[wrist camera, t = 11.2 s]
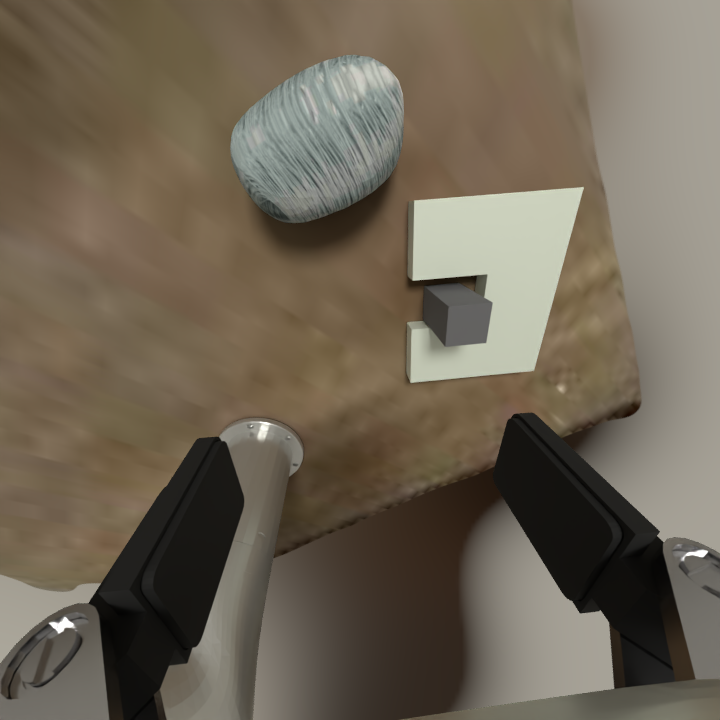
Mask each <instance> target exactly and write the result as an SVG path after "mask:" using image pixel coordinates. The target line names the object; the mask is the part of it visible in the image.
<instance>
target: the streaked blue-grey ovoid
mask: <svg viewBox="0 0 720 720" xmlns="http://www.w3.org/2000/svg"><path fill="white" fill-rule="evenodd" d="M403 119H404V104H403V93H402V90H401V87H400V84H399V81H398V79H397V78H396V77H395V75H394V74H393V73H392V72H391V71H390V70H389V69H388V68H387V67H386V66H385V65H384V64H382V63H380V62H378V61H377V60H375V59H373V58H371V57H366V56H358V55H345V56H341V57H338V58H334V59H329V60H326V61H323V62H321V63H318V64H316V65H314V66H312V67H309V68H307V69H305V70H303V71H301V72H299V73H298V74H296V75H294V76H293V77H291V78H289V79H288V80H286V81H284V82H283V83H281V84H280V85H279V86H277V87H276V88H274V89H273V90H272V91H270V92H269V93H268V94H267V95H265V96H264V97H263V98H262V99H260V100H259V101H258V102H257V103H256V104H255V105H253V106H252V107H251V108H250V109H249V110H248V111H247V112H246V113H245V114H244V115H243V116H242V118H241V119H240V120H239V122H238V123H237V124H236V126H235V128H234V130H233V133H232V136H231V147H230V148H231V158H232V163H233V166H234V169H235V171H236V173H237V176H238V178H239V180H240V182H241V184H242V185H243V187H244V189H245V190H246V191H247V193H248V194H249V196H250V197H251V198H252V200H253V201H254V202H255V203H256V204H257V206H259V207H260V208H261V209H262V210H263V211H264V212H266V213H267V214H268V215H270V216H272V217H273V218H275V219H277V220H280V221H283V222H287V223H302V222H308V221H311V220H314V219H318V218H322V217H324V216H327V215H329V214H332V213H334V212H337V211H339V210H342V209H345V208H347V207H349V206H350V205H352V204H354V203H356V202H358V201H360V200H361V199H363V198H364V197H366V196H367V195H369V194H371V193H372V192H373V191H375V190H376V189H377V188H378V187H379V186H380V185H382V184H383V183H384V182H385V181H386V180H387V179H388V178H389V176H390V175H391V173H392V171H393V170H394V168H395V167H396V165H397V162H398V159H399V156H400V152H401V147H402V142H403V128H404V127H403Z"/></svg>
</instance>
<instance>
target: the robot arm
mask: <svg viewBox="0 0 720 720" xmlns="http://www.w3.org/2000/svg"><path fill="white" fill-rule="evenodd" d="M303 455H304V448H303V443H302V441H301V439H300V437H299V436H298V435H297V434H296V432H294V431H293V430H292V429H291V428H290V427H288V426H286V425H285V424H283V423H280V422H278V421H275V420H271V419H267V418H246V419H242V420H239V421H236V422H234V423H232V424H230V425H229V426H227V427H226V428H225V429H224V430H223V431H222V433H221V434H220V436H219V437H208V438H199V439H197V440H196V441H195V443H194V444H193V446H192V448H191V449H190V451H189V452H188V454H187V455H186V457H185V458H184V460H183V462H182V463H181V465H180V466H179V468H178V469H177V471H176V472H175V474H174V476H173V477H172V479H171V480H170V482H169V483H168V485H167V486H166V487H165V488H164V489H163V490H162V491H161V493H160V494H159V495H158V497H157V498H156V500H155V502H154V503H153V505H152V506H151V508H150V509H149V511H148V512H147V514H146V515H145V517H144V518H143V520H142V522H141V523H140V525H139V526H138V528H137V529H136V531H135V532H134V534H133V535H132V537H131V538H130V540H129V542H128V543H127V545H126V546H125V548H124V549H123V551H122V552H121V554H120V555H119V557H118V558H117V560H116V562H115V563H114V565H113V566H112V568H111V569H110V571H109V572H108V574H107V575H106V577H105V578H104V580H103V582H102V583H101V585H100V586H99V588H98V589H97V591H96V593H95V594H94V595H93V597H92V598H91V600H90V602H89V603H78V604H74V605H71V606H68V607H65V608H63V609H61V610H59V611H57V612H56V613H54V614H52V615H50V616H48V617H47V618H46V619H45V620H43V621H42V622H40V623H39V624H38V625H36V626H35V627H34V628H33V629H31V630H30V631H29V632H28V633H27V634H26V635H25V636H24V637H23V638H22V639H21V640H20V641H19V642H18V643H17V644H16V645H15V646H14V647H13V649H12V650H11V651H10V652H9V653H8V655H7V656H6V657H5V658H4V659H3V661H2V662H1V663H0V720H253V711H254V695H255V681H256V667H257V656H258V647H259V639H260V632H261V625H262V617H263V611H264V606H265V600H266V594H267V589H268V583H269V578H270V572H271V567H272V562H273V557H274V551H275V546H276V541H277V536H278V531H279V525H280V520H281V515H282V510H283V505H284V499H285V494H286V489H287V484H288V479H289V476H291V475H292V474H293V473H295V472H296V471H297V470H298V468H299V467H300V465H301V463H302V461H303ZM493 480H494V483H495V485H496V486H497V488H498V490H499V491H500V493H501V495H502V496H503V498H504V500H505V501H506V503H507V504H508V506H509V508H510V509H511V511H512V513H513V514H514V516H515V517H516V519H517V520H518V522H519V524H520V525H521V527H522V529H523V530H524V532H525V534H526V535H527V537H528V538H529V540H530V542H531V543H532V545H533V546H534V548H535V550H536V551H537V553H538V555H539V556H540V558H541V559H542V561H543V563H544V564H545V566H546V567H547V569H548V571H549V572H550V574H551V576H552V577H553V579H554V580H555V582H556V584H557V585H558V587H559V588H560V590H561V592H562V593H563V594H564V596H565V597H566V598H567V599H569V600H571V601H573V603H574V604H575V606H576V608H577V609H578V611H579V613H588V612H596V611H600V610H601V611H602V613H603V614H604V616H605V617H606V618H607V620H608V621H609V627H610V640H611V652H612V665H613V678H614V689H611V690H604V691H597V692H590V693H582V694H575V695H568V696H561V697H554V698H547V699H540V700H533V701H526V702H518V703H512V704H504V705H498V706H491V707H484V708H477V709H470V710H464V711H456V712H450V713H443V714H436V715H429V716H423V717H416V718H409V719H402V720H720V553H718V552H717V551H715V550H713V549H711V548H709V547H707V546H705V545H703V544H700V543H699V542H695V541H692V540H689V539H686V538H676V537H674V538H669V539H667V540H666V541H665V542H663V541H661V539H659V538H658V537H657V535H658V534H659V532H660V531H659V530H658V529H656V527H655V526H653V525H652V524H651V523H650V522H649V521H648V520H647V519H646V518H645V517H644V516H643V515H642V514H641V513H640V512H639V511H638V510H637V509H635V508H634V507H633V506H632V505H631V504H630V503H629V502H628V501H627V500H626V499H625V498H624V497H623V496H622V495H621V494H620V493H618V492H617V491H616V490H615V489H614V488H613V487H612V486H611V485H610V484H609V483H608V482H607V481H606V480H605V479H604V478H603V477H602V476H600V475H599V474H598V473H597V472H596V471H595V470H594V469H593V468H592V467H591V466H590V465H589V464H588V463H587V462H586V461H584V459H582V458H581V457H580V456H579V455H578V454H577V453H576V452H575V451H574V450H573V449H572V448H571V447H570V446H569V445H567V443H565V442H564V441H563V440H562V439H561V438H560V437H559V436H558V435H557V434H556V433H555V432H554V431H553V430H552V429H551V428H550V427H548V426H547V425H546V424H545V423H544V422H543V421H542V420H541V419H540V418H539V417H538V416H537V415H535V414H534V413H520V414H514V415H513V416H512V417H511V419H509V420H508V421H507V424H506V428H505V432H504V435H503V439H502V443H501V446H500V450H499V454H498V457H497V461H496V465H495V468H494V472H493Z"/></svg>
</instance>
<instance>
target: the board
mask: <svg viewBox="0 0 720 720" xmlns="http://www.w3.org/2000/svg"><path fill="white" fill-rule="evenodd" d="M583 188H584V187H581V188H568V189H555V190H543V191H530V192H518V193H505V194H493V195H480V196H467V197H455V198H442V199H430V200H417V201H410V202H408V277H409V278H410V279H411V280H412V281H415V280H427V279H438V278H450V277H461V276H473V275H477V278H476V286H475V293H477V294H479V295H481V296H482V297H484V298H486V299H488V300H489V301H491V302H493V305H492V311H491V317H490V323H489V329H488V335H487V342H486V343H481V344H471V345H461V346H450V347H445V346H444V345H443V343H442V342H441V341H440V340H439V338H438V337H437V336H436V335H435V333H434V332H433V331H432V330H431V328H430V327H429V326H428V325H427V323H426V322H425V321H416V322H407V362H406V373H407V376H408V378H409V380H410V383H413V382H423V381H434V380H444V379H454V378H465V377H475V376H485V375H496V374H506V373H516V372H527V371H534V368H535V365H536V361H537V357H538V354H539V350H540V346H541V343H542V339H543V335H544V332H545V328H546V324H547V320H548V317H549V313H550V309H551V306H552V302H553V298H554V295H555V291H556V287H557V284H558V280H559V276H560V273H561V269H562V265H563V262H564V258H565V254H566V251H567V247H568V243H569V240H570V236H571V232H572V228H573V225H574V221H575V217H576V214H577V210H578V206H579V203H580V199H581V195H582V192H583Z"/></svg>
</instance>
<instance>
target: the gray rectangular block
mask: <svg viewBox="0 0 720 720" xmlns="http://www.w3.org/2000/svg"><path fill="white" fill-rule="evenodd" d="M492 305H493V302H491V301H489V300H488V299H486V298H484V297H482V296H481V295H479V294H477V293H475V292H474V291H472V290H470V289H468V288H467V287H465V286H463V285H461V284H460V283H450V284H439V285H428V286H424V300H423V320H424V321H425V322H426V323H427V325H428V326H429V327H430V328H431V330H432V331H433V332H434V333H435V335H436V336H437V337H438V338H439V340H440V341H441V342H442V343H443V345H444V346H445V347H450V346H461V345H471V344H481V343H486V342H487V335H488V329H489V323H490V317H491V311H492Z"/></svg>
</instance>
